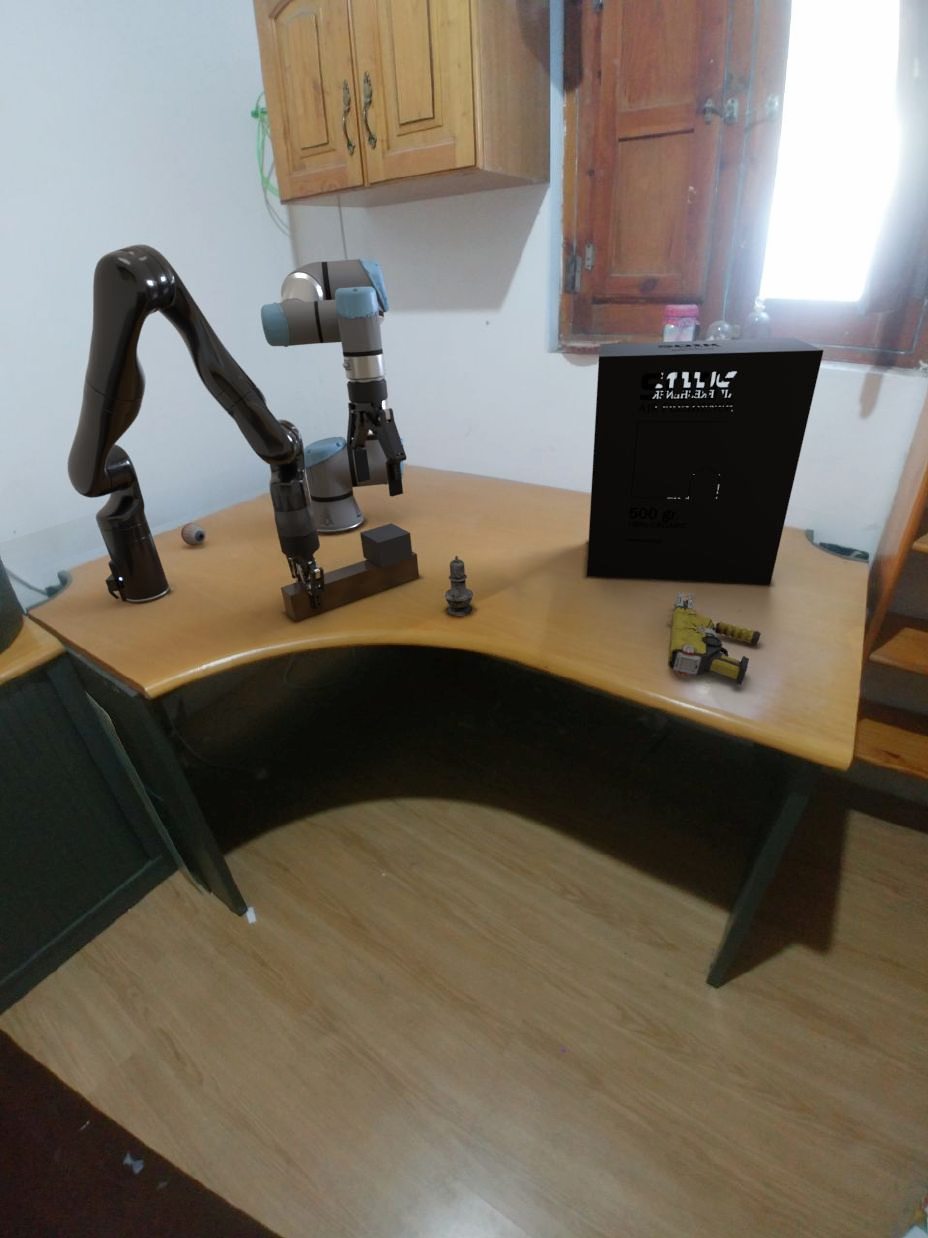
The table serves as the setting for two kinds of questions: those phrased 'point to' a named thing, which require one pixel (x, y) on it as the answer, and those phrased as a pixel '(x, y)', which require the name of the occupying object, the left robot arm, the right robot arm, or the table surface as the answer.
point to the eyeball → (193, 534)
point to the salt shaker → (458, 590)
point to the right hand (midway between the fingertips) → (379, 487)
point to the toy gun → (704, 643)
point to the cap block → (386, 545)
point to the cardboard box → (696, 457)
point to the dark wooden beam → (348, 586)
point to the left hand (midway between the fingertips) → (312, 603)
